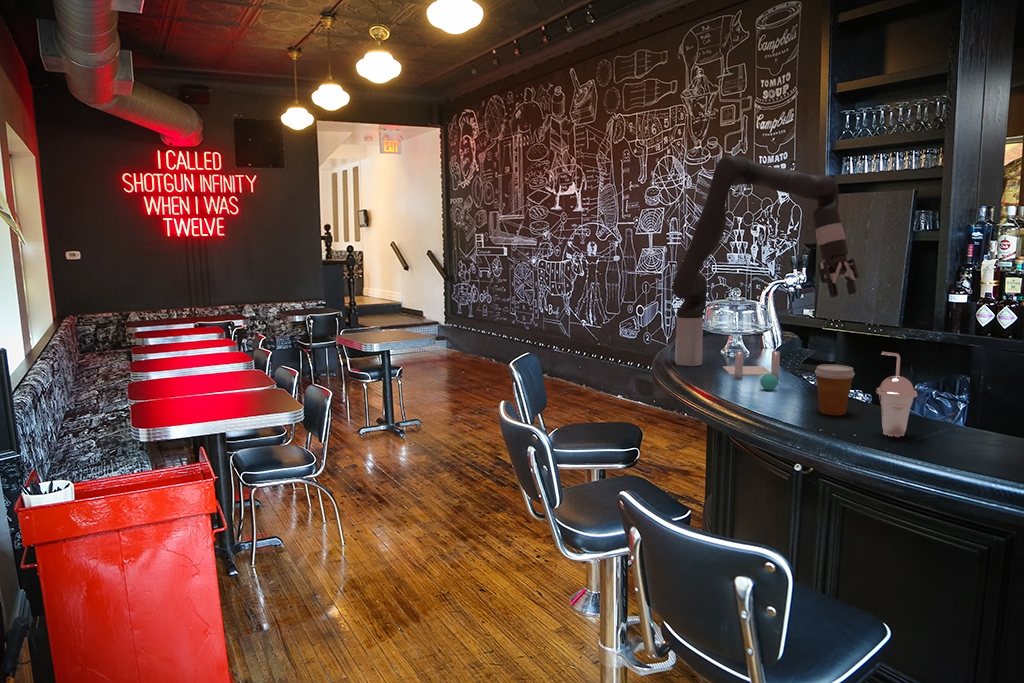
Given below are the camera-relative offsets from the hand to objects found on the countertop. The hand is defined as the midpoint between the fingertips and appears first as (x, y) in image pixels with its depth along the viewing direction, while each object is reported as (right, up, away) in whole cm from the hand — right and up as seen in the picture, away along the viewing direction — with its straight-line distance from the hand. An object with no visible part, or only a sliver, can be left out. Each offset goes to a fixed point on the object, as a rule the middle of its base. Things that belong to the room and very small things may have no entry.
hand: (843, 295), depth 206 cm
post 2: (-12, -26, +21) cm, 36 cm away
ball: (-20, -26, +6) cm, 33 cm away
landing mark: (-16, -24, +36) cm, 46 cm away
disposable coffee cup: (-13, -32, -20) cm, 40 cm away
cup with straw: (-8, -35, -41) cm, 55 cm away
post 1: (-24, -26, +23) cm, 42 cm away
